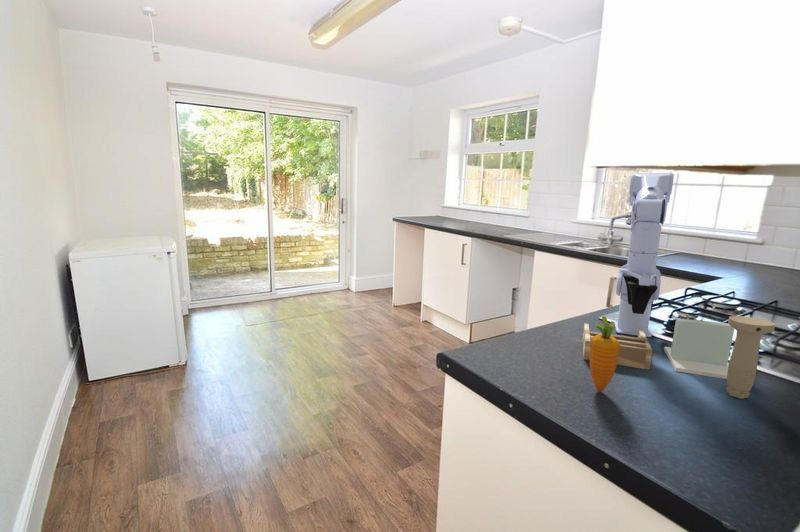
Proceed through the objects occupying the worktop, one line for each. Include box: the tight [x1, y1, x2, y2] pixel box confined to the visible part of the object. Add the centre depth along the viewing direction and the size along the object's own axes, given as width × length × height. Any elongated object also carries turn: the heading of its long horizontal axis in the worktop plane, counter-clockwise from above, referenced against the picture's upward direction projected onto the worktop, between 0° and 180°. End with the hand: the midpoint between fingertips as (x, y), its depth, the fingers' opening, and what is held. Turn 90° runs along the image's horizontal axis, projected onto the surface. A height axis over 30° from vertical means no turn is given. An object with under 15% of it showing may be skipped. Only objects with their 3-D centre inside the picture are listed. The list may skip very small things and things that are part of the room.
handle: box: [725, 315, 776, 400], centre depth 73 cm, size 5×6×15 cm
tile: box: [663, 345, 729, 380], centre depth 88 cm, size 12×11×1 cm
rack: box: [582, 322, 653, 371], centre depth 92 cm, size 12×13×6 cm
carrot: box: [588, 315, 620, 393], centre depth 74 cm, size 5×5×15 cm
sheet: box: [670, 317, 735, 366], centre depth 87 cm, size 2×10×9 cm, turn 70°
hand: (635, 308), depth 93 cm, fingers open, 7 cm apart
